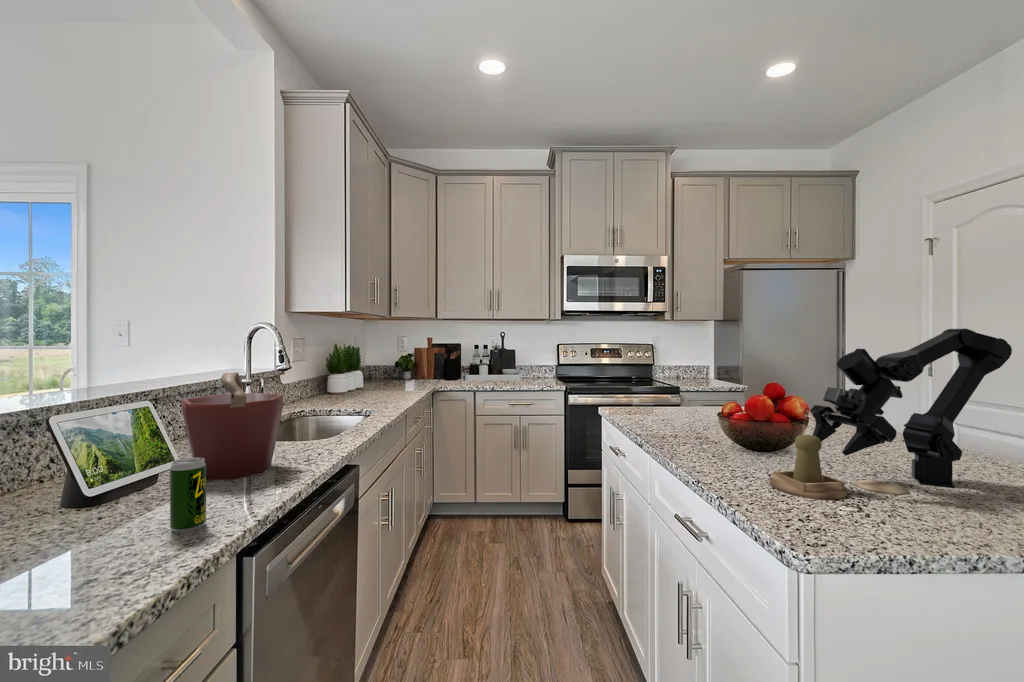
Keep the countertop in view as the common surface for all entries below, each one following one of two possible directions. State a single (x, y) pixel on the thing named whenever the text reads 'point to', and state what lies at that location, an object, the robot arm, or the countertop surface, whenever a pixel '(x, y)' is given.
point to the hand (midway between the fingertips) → (827, 449)
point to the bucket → (233, 430)
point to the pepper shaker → (808, 459)
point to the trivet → (808, 486)
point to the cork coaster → (881, 487)
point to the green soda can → (187, 494)
